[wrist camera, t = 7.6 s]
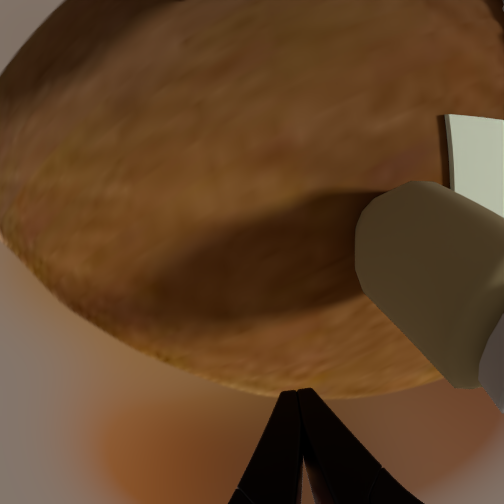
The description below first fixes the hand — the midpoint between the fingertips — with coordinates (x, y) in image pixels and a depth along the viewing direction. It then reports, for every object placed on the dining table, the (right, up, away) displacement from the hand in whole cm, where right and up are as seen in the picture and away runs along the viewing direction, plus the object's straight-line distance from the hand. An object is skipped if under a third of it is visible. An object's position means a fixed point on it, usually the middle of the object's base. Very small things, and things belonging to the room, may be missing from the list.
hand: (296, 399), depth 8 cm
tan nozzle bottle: (+8, +5, +12) cm, 15 cm away
